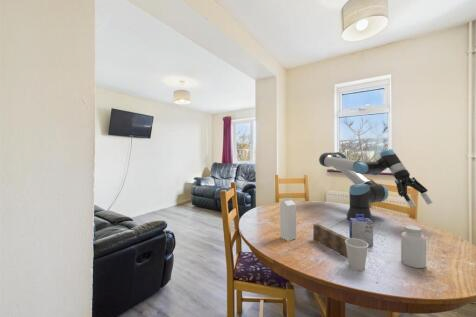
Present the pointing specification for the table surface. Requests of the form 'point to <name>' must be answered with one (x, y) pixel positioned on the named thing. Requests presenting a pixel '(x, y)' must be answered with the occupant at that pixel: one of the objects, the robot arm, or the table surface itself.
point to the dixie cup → (356, 253)
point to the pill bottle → (413, 247)
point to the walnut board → (330, 239)
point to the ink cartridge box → (361, 229)
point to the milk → (288, 219)
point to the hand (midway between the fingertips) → (422, 205)
